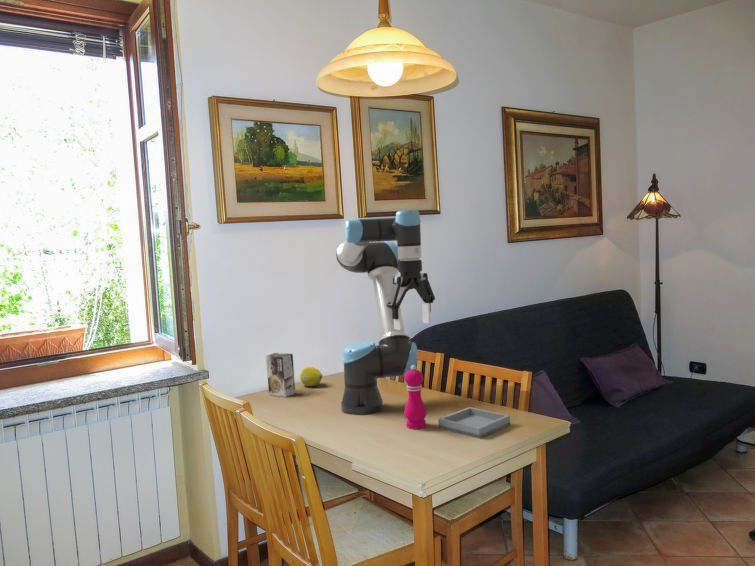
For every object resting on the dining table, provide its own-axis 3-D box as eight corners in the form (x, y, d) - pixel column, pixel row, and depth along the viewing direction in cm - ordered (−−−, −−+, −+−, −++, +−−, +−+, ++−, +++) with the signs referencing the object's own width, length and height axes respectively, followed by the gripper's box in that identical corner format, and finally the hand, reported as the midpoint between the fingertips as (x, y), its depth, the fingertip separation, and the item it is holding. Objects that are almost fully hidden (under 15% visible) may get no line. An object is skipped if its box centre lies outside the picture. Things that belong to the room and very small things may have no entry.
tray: (438, 427, 198) (438, 418, 197) (469, 415, 209) (469, 406, 208) (479, 438, 186) (479, 428, 186) (510, 424, 197) (509, 415, 197)
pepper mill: (425, 429, 196) (423, 367, 195) (403, 429, 198) (400, 367, 196) (428, 422, 203) (426, 362, 202) (406, 422, 205) (404, 362, 203)
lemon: (296, 386, 261) (295, 367, 260) (311, 382, 266) (310, 364, 265) (311, 390, 253) (310, 371, 252) (327, 386, 258) (325, 367, 257)
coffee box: (296, 393, 249) (293, 353, 248) (285, 397, 244) (282, 356, 242) (278, 391, 254) (276, 352, 253) (268, 395, 249) (265, 355, 247)
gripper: (390, 262, 185) (394, 333, 186) (444, 256, 202) (446, 321, 204) (373, 262, 190) (376, 331, 192) (426, 256, 207) (429, 319, 209)
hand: (412, 326), depth 198 cm, fingers open, 13 cm apart
